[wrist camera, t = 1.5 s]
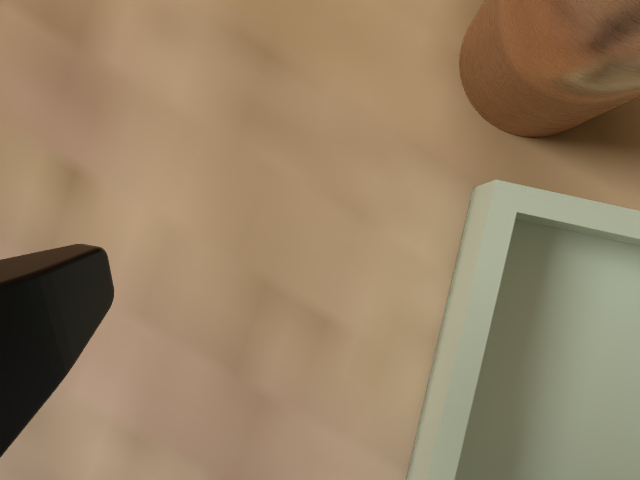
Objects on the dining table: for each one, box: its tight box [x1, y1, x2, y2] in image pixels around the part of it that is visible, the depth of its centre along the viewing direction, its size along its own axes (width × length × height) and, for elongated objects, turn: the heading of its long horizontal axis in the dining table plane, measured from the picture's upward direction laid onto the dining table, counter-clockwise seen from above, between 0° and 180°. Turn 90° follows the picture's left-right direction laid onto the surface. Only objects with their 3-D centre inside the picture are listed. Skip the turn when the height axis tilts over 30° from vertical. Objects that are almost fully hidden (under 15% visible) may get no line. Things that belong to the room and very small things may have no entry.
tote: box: [406, 180, 640, 480], centre depth 19 cm, size 16×11×3 cm
